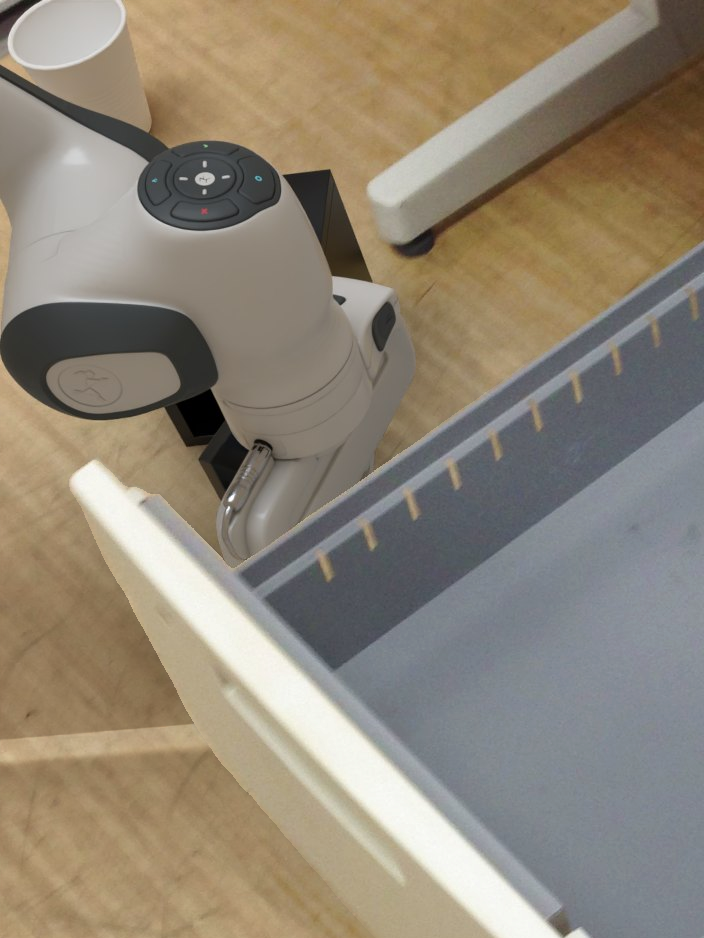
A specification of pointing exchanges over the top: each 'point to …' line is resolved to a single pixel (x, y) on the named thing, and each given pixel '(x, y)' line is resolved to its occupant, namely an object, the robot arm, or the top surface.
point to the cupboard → (345, 260)
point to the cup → (82, 56)
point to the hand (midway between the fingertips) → (353, 526)
